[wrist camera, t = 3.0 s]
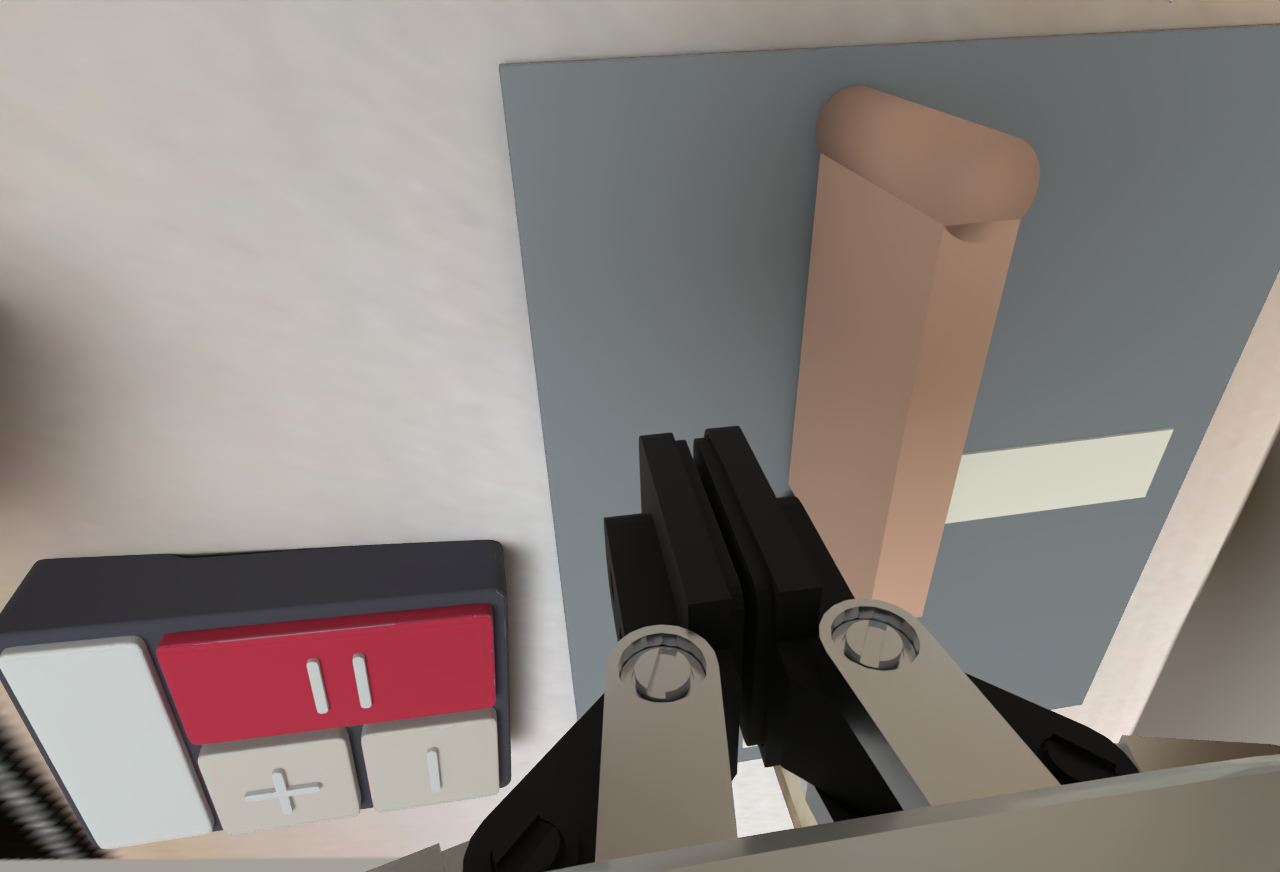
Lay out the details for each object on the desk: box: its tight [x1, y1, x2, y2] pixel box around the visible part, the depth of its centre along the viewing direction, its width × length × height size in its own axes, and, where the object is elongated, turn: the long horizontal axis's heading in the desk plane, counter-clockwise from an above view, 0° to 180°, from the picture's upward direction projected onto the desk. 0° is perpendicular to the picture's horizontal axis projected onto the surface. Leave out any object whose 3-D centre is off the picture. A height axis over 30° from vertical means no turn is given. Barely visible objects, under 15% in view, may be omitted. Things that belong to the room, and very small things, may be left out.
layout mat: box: [499, 24, 1280, 762], centre depth 28 cm, size 30×25×1 cm
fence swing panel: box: [788, 85, 1040, 618], centre depth 20 cm, size 15×2×7 cm, turn 2°
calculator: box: [0, 540, 511, 849], centre depth 27 cm, size 11×4×15 cm
